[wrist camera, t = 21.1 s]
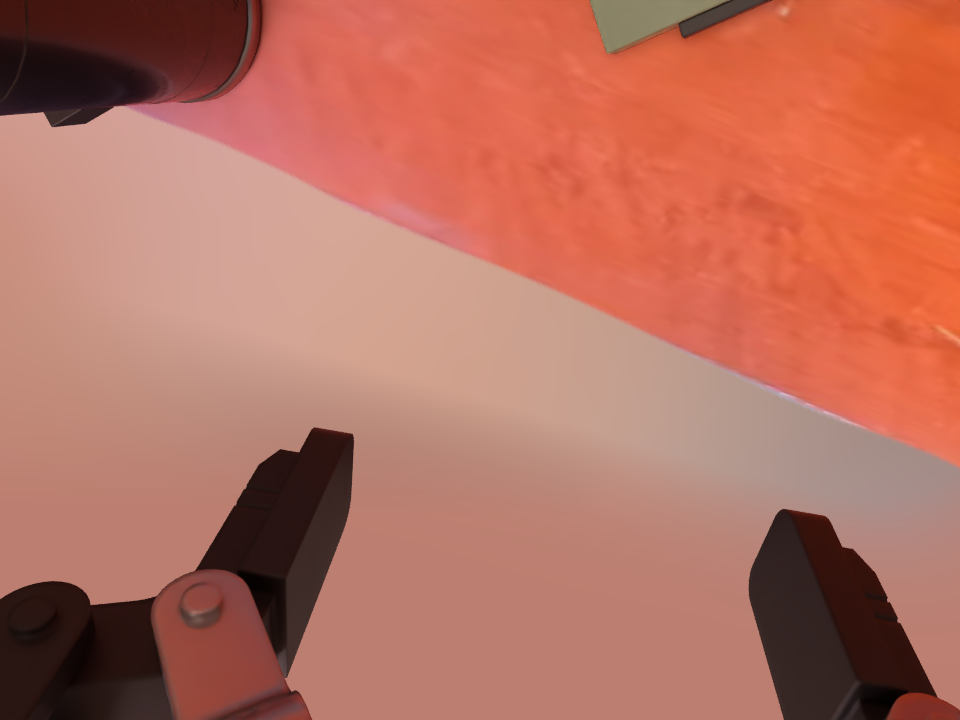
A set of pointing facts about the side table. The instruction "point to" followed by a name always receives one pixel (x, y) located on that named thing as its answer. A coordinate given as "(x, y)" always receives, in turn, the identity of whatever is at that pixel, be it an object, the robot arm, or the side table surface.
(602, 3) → the scale
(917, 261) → the side table surface
